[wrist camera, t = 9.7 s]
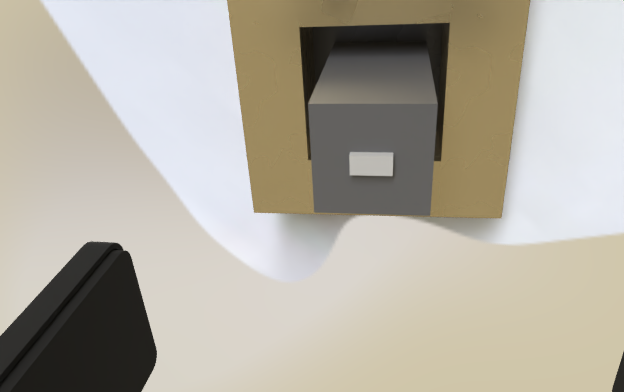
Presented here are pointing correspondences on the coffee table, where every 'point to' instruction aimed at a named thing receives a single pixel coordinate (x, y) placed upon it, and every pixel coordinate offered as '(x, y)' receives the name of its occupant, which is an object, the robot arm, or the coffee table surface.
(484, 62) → the socket plate
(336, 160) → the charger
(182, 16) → the coffee table surface
